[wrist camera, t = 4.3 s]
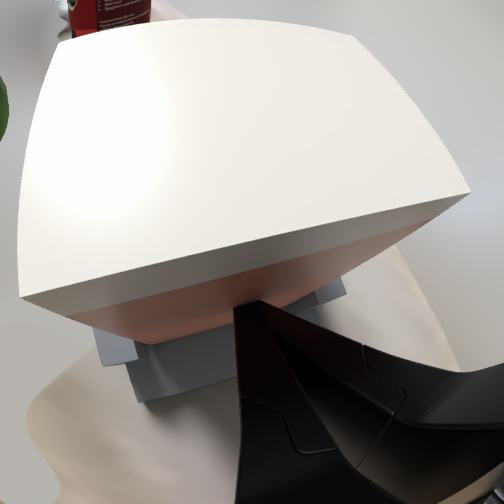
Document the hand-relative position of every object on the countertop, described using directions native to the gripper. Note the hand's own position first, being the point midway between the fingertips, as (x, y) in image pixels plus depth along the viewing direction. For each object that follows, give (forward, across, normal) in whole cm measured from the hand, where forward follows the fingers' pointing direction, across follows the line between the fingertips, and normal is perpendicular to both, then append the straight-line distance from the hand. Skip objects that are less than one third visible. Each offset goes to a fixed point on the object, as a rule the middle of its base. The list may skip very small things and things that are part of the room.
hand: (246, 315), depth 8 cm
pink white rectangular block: (+6, 0, +2) cm, 6 cm away
